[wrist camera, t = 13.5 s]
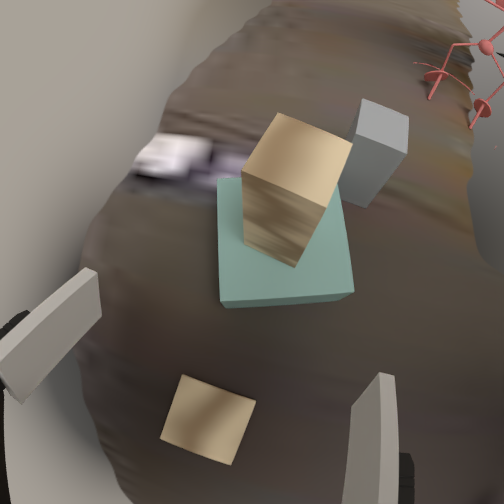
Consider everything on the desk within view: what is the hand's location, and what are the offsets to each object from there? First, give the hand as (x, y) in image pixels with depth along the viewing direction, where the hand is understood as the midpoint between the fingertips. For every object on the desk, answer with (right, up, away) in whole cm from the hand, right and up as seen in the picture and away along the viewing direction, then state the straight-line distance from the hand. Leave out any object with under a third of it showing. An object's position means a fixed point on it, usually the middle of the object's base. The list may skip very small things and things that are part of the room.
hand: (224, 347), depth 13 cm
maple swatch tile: (-4, -14, +16) cm, 21 cm away
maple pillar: (+4, +6, +16) cm, 17 cm away
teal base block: (+4, +4, +21) cm, 22 cm away
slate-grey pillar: (+13, +12, +23) cm, 30 cm away
